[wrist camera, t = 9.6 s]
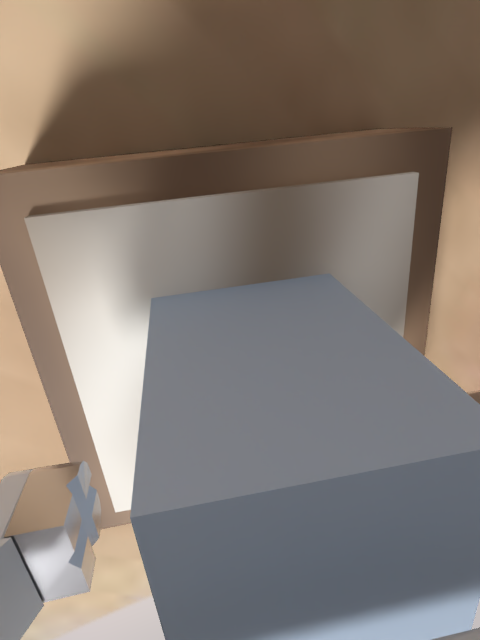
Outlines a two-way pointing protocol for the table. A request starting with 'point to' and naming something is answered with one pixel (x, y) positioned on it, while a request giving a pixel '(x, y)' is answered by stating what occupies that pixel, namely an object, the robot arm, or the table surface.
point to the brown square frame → (204, 257)
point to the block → (302, 471)
